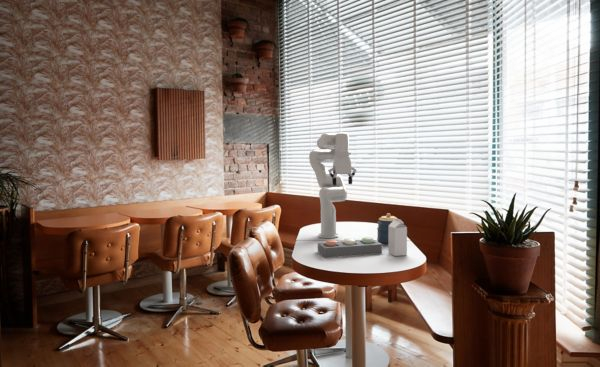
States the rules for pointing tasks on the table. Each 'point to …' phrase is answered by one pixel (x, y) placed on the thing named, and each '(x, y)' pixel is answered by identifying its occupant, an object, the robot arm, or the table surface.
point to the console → (349, 249)
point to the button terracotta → (330, 243)
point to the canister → (384, 228)
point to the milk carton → (397, 238)
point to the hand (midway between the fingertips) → (342, 184)
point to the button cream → (349, 241)
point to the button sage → (367, 240)
